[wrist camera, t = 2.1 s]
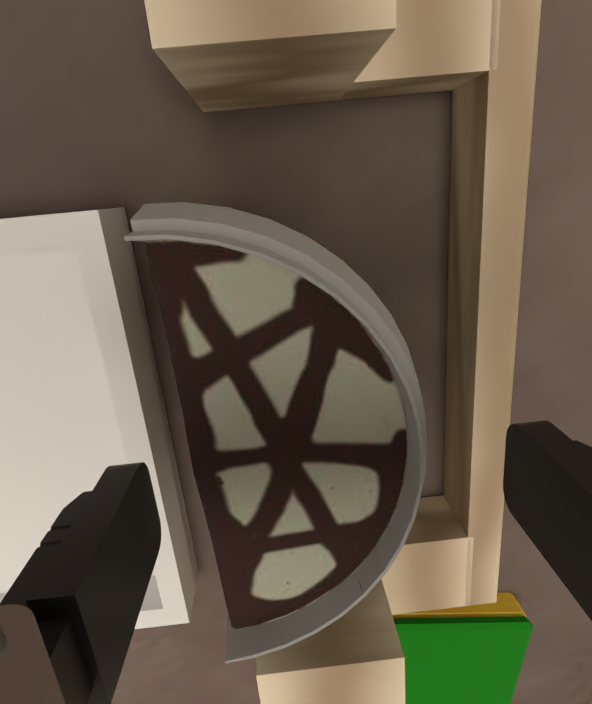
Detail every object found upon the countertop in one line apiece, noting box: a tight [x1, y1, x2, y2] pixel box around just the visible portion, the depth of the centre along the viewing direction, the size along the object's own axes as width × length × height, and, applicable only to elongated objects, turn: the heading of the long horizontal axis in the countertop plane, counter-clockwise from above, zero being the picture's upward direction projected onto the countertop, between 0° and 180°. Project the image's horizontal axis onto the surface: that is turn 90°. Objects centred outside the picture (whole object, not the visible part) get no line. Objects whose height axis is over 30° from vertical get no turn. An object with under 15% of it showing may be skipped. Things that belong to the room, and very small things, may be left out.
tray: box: [0, 207, 199, 629], centre depth 19 cm, size 12×18×3 cm, turn 5°
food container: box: [124, 202, 428, 663], centre depth 15 cm, size 12×6×10 cm, turn 7°
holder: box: [144, 0, 541, 704], centre depth 16 cm, size 11×26×8 cm, turn 5°
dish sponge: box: [392, 593, 533, 704], centre depth 26 cm, size 7×14×2 cm, turn 87°
